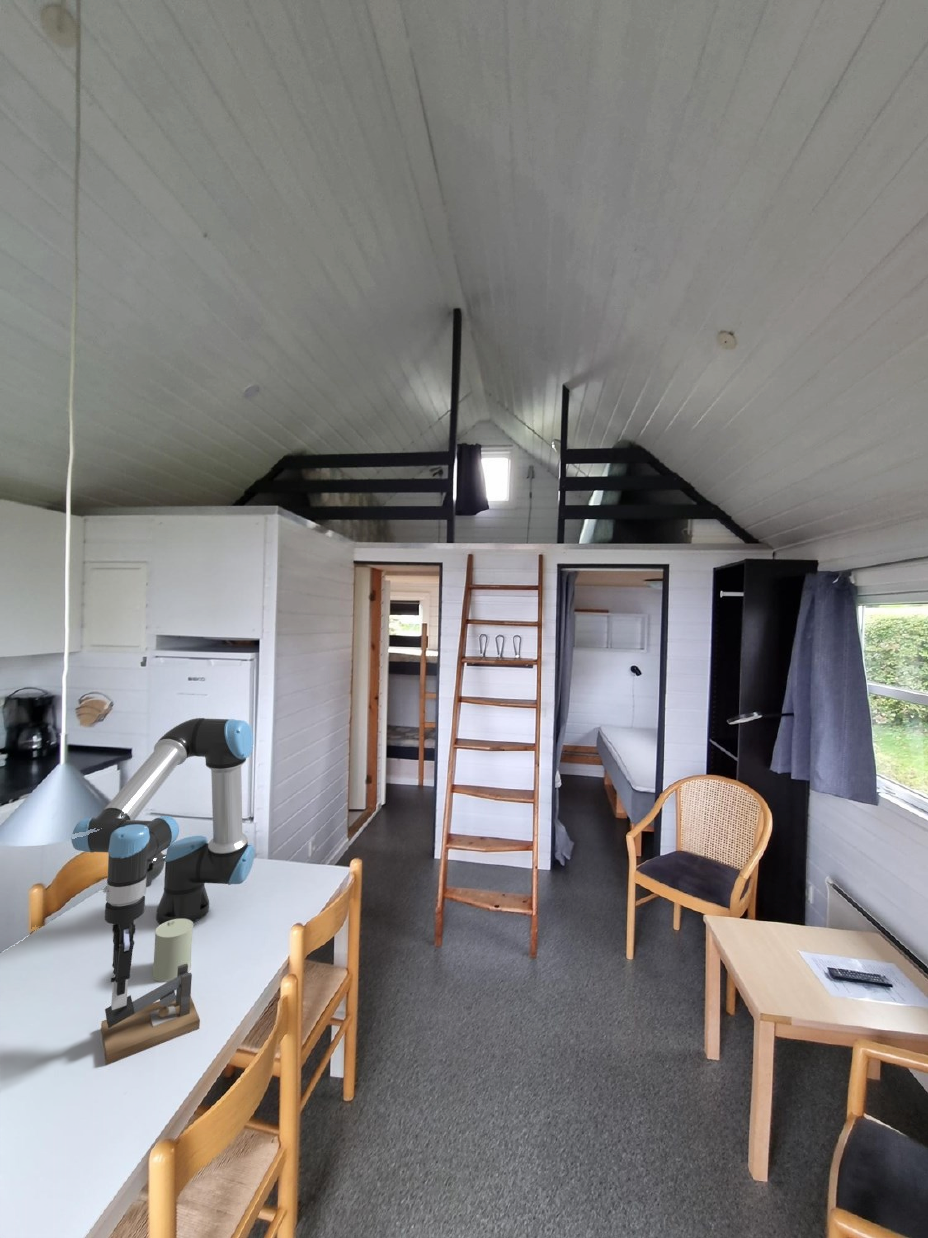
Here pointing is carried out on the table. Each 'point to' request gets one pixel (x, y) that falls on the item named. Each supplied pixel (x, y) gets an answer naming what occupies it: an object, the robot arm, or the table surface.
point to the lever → (145, 1001)
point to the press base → (152, 1024)
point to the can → (172, 948)
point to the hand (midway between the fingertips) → (118, 1006)
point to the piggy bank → (155, 867)
